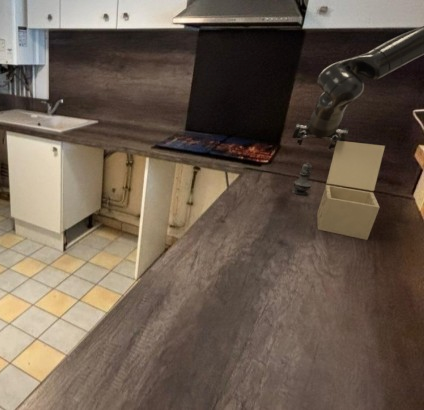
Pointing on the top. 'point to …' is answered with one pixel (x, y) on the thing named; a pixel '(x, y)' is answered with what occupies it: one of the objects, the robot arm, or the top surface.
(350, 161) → the lid
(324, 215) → the tan open box
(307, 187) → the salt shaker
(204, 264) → the top surface
